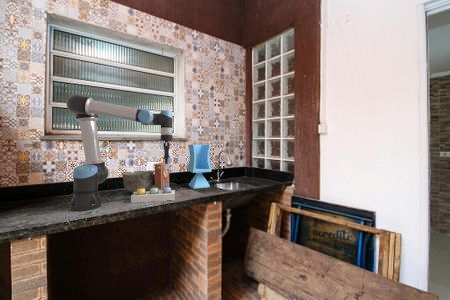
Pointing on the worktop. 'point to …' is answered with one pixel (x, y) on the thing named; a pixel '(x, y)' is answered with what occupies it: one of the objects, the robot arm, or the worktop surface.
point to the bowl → (137, 180)
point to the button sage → (153, 190)
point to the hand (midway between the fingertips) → (166, 167)
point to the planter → (199, 165)
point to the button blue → (166, 190)
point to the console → (152, 197)
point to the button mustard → (141, 191)
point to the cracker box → (161, 176)
